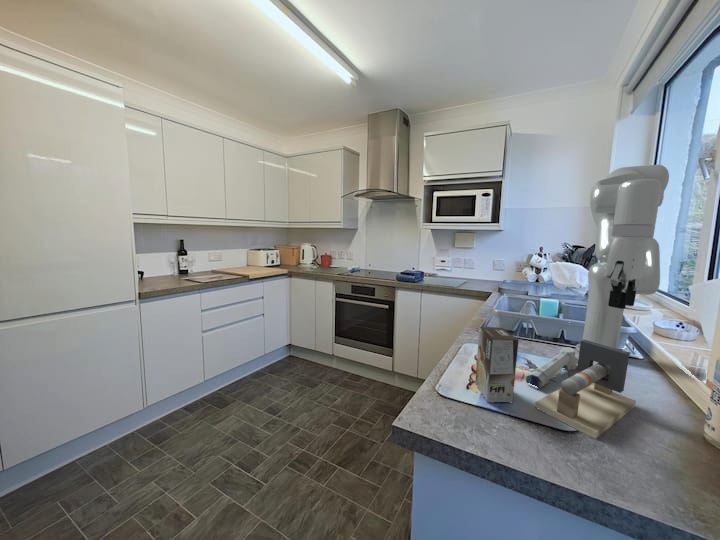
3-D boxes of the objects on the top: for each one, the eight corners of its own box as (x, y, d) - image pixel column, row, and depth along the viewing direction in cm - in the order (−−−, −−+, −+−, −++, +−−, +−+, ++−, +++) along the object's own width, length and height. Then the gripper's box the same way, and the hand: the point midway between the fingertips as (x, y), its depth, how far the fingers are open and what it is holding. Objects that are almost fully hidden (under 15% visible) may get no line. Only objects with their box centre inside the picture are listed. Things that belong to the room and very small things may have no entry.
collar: (579, 374, 77) (584, 339, 76) (623, 390, 69) (629, 352, 68) (576, 376, 76) (580, 341, 75) (620, 393, 68) (626, 354, 67)
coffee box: (513, 403, 71) (520, 340, 69) (486, 402, 71) (492, 339, 69) (497, 384, 80) (502, 327, 78) (473, 383, 80) (478, 326, 78)
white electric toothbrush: (523, 371, 80) (562, 340, 94) (522, 392, 81) (561, 359, 95) (544, 379, 76) (582, 345, 90) (543, 401, 77) (580, 365, 91)
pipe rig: (577, 383, 81) (582, 350, 80) (635, 406, 71) (641, 369, 70) (534, 407, 70) (539, 369, 68) (595, 439, 59) (602, 394, 58)
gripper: (625, 232, 79) (615, 299, 81) (598, 232, 70) (588, 306, 72) (664, 233, 72) (652, 305, 75) (640, 233, 64) (627, 314, 66)
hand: (621, 305), depth 74 cm, fingers open, 4 cm apart
